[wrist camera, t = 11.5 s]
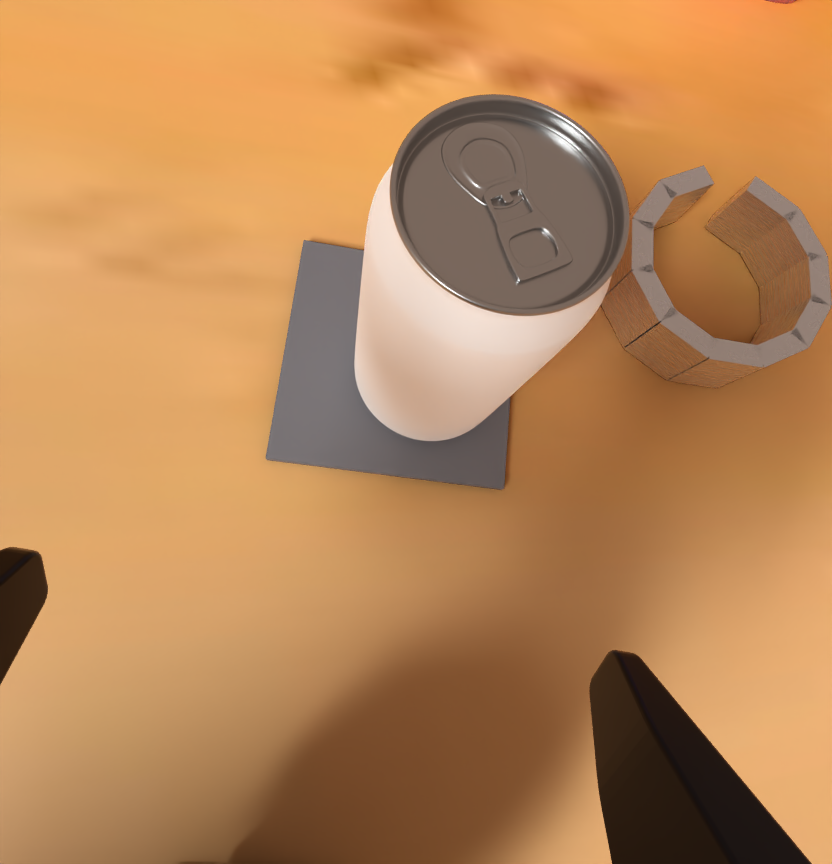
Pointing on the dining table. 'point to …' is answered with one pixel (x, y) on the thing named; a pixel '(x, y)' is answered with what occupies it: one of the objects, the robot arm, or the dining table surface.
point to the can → (481, 260)
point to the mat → (340, 398)
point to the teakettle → (782, 1)
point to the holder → (765, 258)
